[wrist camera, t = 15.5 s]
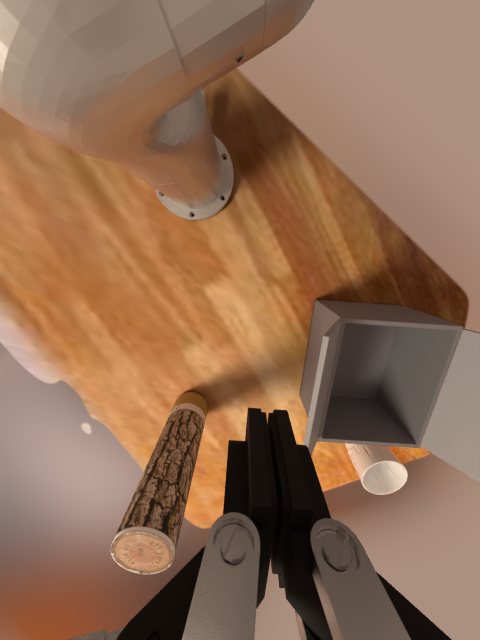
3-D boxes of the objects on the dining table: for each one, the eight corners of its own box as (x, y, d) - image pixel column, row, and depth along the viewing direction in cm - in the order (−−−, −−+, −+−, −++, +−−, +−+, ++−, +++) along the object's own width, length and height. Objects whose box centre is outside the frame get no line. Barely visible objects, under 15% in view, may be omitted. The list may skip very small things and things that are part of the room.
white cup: (339, 451, 52) (361, 496, 42) (338, 422, 49) (361, 463, 40) (376, 447, 51) (406, 492, 42) (376, 417, 49) (409, 458, 39)
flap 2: (463, 329, 30) (464, 328, 31) (420, 446, 36) (421, 444, 36) (557, 352, 24) (558, 351, 25) (488, 488, 30) (489, 486, 30)
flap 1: (317, 439, 36) (313, 437, 36) (341, 321, 30) (336, 320, 31) (302, 477, 30) (297, 474, 30) (329, 337, 24) (323, 335, 24)
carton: (315, 299, 42) (341, 318, 30) (403, 305, 42) (463, 326, 30) (299, 394, 48) (317, 441, 36) (377, 400, 48) (419, 447, 36)
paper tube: (209, 392, 48) (175, 535, 24) (206, 419, 50) (172, 577, 26) (177, 388, 48) (109, 528, 24) (175, 415, 50) (111, 570, 26)
